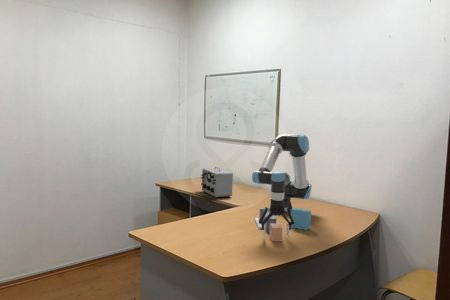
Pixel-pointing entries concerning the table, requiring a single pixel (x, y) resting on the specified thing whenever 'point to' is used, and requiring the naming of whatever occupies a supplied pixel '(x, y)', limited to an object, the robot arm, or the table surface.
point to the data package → (301, 218)
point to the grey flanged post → (271, 220)
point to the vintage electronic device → (217, 182)
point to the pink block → (275, 232)
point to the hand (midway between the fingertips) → (275, 235)
